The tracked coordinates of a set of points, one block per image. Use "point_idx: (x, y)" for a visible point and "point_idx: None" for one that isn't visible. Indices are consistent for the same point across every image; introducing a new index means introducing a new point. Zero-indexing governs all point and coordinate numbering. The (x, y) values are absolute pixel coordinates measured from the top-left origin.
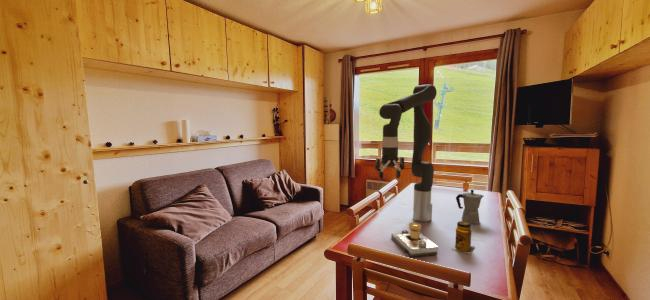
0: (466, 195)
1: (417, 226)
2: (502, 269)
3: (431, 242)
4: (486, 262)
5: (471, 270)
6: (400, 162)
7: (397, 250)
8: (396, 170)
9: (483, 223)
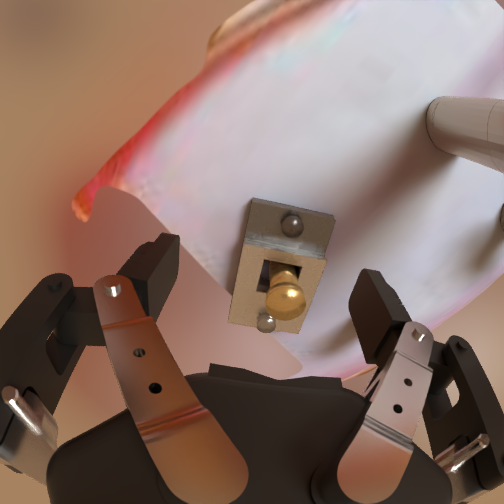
0: None
1: (283, 316)
2: (353, 372)
3: (302, 315)
4: (355, 355)
5: (306, 364)
6: (459, 426)
7: (221, 267)
8: (388, 327)
9: None
